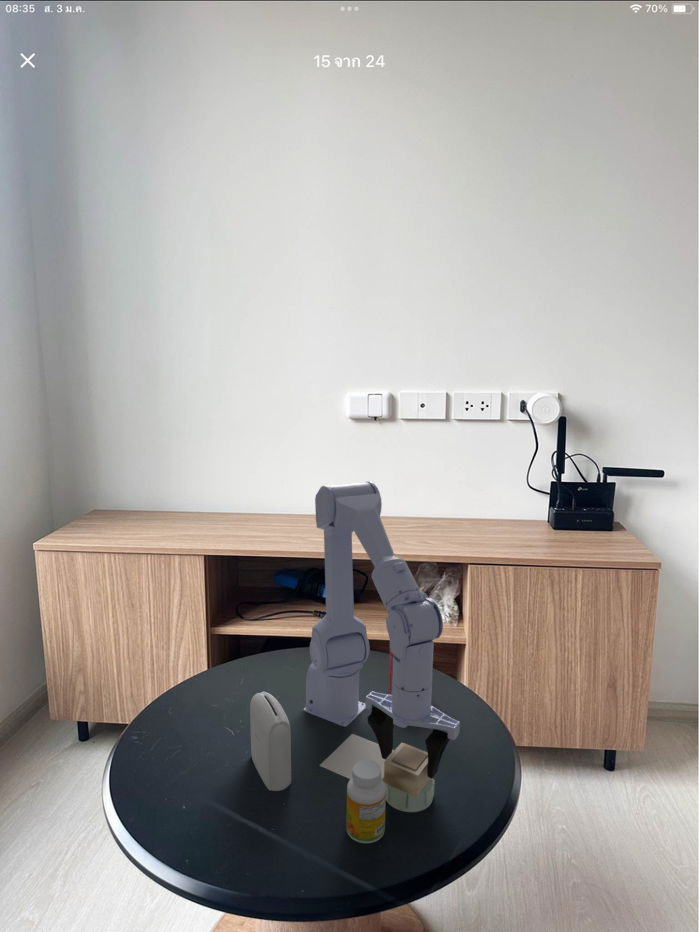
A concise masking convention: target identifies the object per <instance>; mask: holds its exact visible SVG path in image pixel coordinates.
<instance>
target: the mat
mask: <svg viewBox="0 0 699 932" xmlns="http://www.w3.org/2000/svg"><path fill="white" fill-rule="evenodd" d="M394 751H395V749H392V753H393V752H394ZM392 753H391V754H392ZM391 754H390V755H391ZM390 755H389V756H390ZM389 756H388V757H389ZM362 760H370V761H374V762H376V763H377V764H379V766H380V767H381V779H382V780H384V762H385V761H386V760H385V759H383V758H382V756H381V752H380V748H379V744H378V742H374V741H372V740H369V739H367V738H364V737H362V736H359V735H357V734H354V733H351V734H350V735H349V736H348V737H347V738H346V739H345V740H344V741H343V742H342V743H341V744H340V745H339V746H337V748H336V749H334V751H332V752H331V754H330V755H329V756H328V757H327V758H325V759H324V760H323V761H322V763H320V764H319V767H321V768H322V769H323V768H324V769H325V770H328V771H331V772H332V773H334V774H337V775H340V776H342V777H345V778H346V779H348V780H350V779H351V778H352V770H353V766H354V765H355V764H356V763H357V762H359V761H362Z"/></svg>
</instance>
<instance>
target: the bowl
mask: <svg viewBox="0 0 699 932" xmlns="http://www.w3.org/2000/svg"><path fill="white" fill-rule="evenodd" d="M384 784H385V787H386V802H387V803H388V805H389V806H390V807H392V808H394V809H396V810H399V811H402V812H404V813H405V812H406V813H417V812H421V811H422V812H423V810H426V809H427V808H428V807H430V806H431V804H432V802H433V800H434V796H435V779H434V777H433V778H431V779H430V781H429V782H428V783H427V785H426V786H425V787H424V789H423V790H422V791H421V793H420V794H419V795H418V797H416V796H413V795H411V794H409V793H407V792H404V791H402V790H400V789H397V788H395V787H393V786H390V785H388V784H386V783H384Z"/></svg>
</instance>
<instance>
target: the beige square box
mask: <svg viewBox="0 0 699 932" xmlns="http://www.w3.org/2000/svg"><path fill="white" fill-rule="evenodd" d="M394 750H395V751H394V752H393V753H392V754H391V755H390V756H389V757H388V758H387V759H386V761H385V762H384V777H383V782H384V783H386V784H388V785H390V786H393V787H395V788H397V789H400V790H402V791H404V792H407V793H409V794H411V795H413V796H416V797H418V795H419V794H420V793H421V791H422V790H423V789H424V787H425V786H426V785H427V783H428V782H429V781H430V779H431V778H429V777H428V775H427V767H428V753H427V750H426V751H425V750H422V749H420V748H417V747H415V746H413V745H410V744H407V743H404V742H401V743H400V744H399V745H398V746H397V747H396V748H395V749H394Z"/></svg>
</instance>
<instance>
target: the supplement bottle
mask: <svg viewBox="0 0 699 932" xmlns="http://www.w3.org/2000/svg"><path fill="white" fill-rule="evenodd" d="M348 780H349V781H348V782H347V786H346V825H345V826H346V827H345V828H346V832H347V835H348V836H349V838H351V839H352V840H353V841H356V842H357V843H361V844H372V843H375V842H377V841H379V840H380V839H381V838H383V836H384V834H385V829H386V802H387V801H386V787H385V784H384V779H381V767H380V766H379V764H377V763H376V762H374V761H370V760H362V761H359V762H357V763H356V764H355V765H354V766H353V770H352V778H351V779H348Z"/></svg>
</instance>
